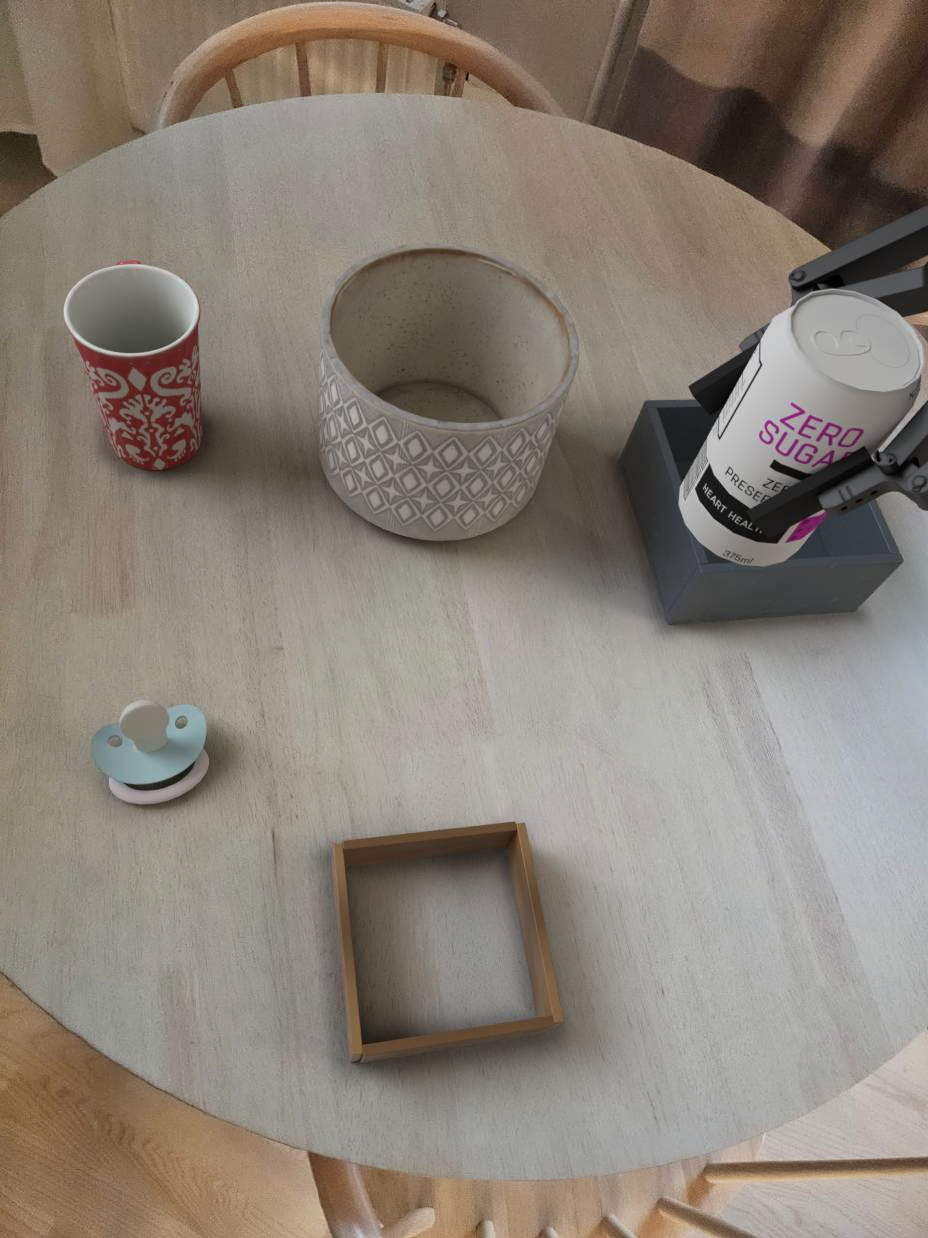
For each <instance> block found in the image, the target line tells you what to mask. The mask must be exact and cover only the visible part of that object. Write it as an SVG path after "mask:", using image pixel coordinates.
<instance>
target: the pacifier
mask: <svg viewBox="0 0 928 1238" xmlns="http://www.w3.org/2000/svg"><path fill="white" fill-rule="evenodd" d="M183 718H184V719H186V720H187V722H186V724H185V726H184V727H182V728H178V727H177V726H176V724H177V722H178V721H179V720H180V719H183ZM207 726H208V725H207V721H206V718H205V715H204V714H203V712H202V711H201V709H199V708H198V707H196V706H195V705H192V704H178V705H175V706H172V707H170V708H168V709H167V708H165V706H163V704H161V703H159V702H158V701H156V700H153V699H145V698H144V699H139V700H135V701H133V702H131V703H130V704H129V705H127V706H126V707H125V708H124V709H123V710H122V713H121V714H120V718H119V721H118V722H113V723H109V724H107V725H105V726H103V727H101V728H99V729H98V730H97V731H96V732H95V733H94V735H93V736H92V738H91V740H90V745H89V747H90V748H89V749H90V755H91V757H92V759H93V761H94V763H95V765H96V766H97V767H98V768H99V769H100V770H101V771H102V772H103V773H104V775H106V776H107V777H108V787H109V789H110V791H111V793H112V795H114V796H115V798H117V799H119V800H120V801H123V802H126V803H129V804H134V805H155V804H159V803H163V802H164V803H165V802H169V801H171V800H173V799H176V798H178V797H180V796H182V795H184V794H187V792H189V791H191V790H193V788H194V787H195V786H197V785H198V784H199V783H200V782H201V781H202V779H203V778H204V777H205V776H206V774H207V771H208V769H209V766H210V759H209V755H208V753H207V751H206V750H205V744H206V739H207V733H208V727H207ZM112 738H120V739H121V741H122V742H121V744H120V745H119V746H112V745H111V744H110V743H109V741H110V740H111V739H112ZM191 765H193V767H192V769H191V770H190V771H189V772H188V773H187V774H186V775H185V776H184V777H183V778H181V779H180V780H179V781H177V782H175V783H173V784H171V785H168V786H166V787H163V788H158V789H154V790H153V789H152V790H141V789H135V788H132V787H129V786H128V785H127V784H129V785H151V784H156V783H159V782H163V781H166V780H169V779H171V778H174V777H175V776H177V775H179V774H181V773H183V772H184V771H185V770H186V769H188V768H189V767H190V766H191Z"/></svg>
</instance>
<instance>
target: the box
mask: <svg viewBox="0 0 928 1238" xmlns="http://www.w3.org/2000/svg"><path fill="white" fill-rule="evenodd" d="M526 825H527V824H526V822H518V823H517V822H516V821H507V822H499V823H490V824H482V825H480V824H479V825H471V826H463V827H461V826H460V827H454V828H453V827H452V828H444V829H436V830H426V831H418V832H417V831H416V832H409V833H401V834H392V835H391V834H390V835H382V836H381V835H380V836H373V837H365V838H355V839H345V840H342V842H341V843H340V842H339V843H333V844H332V850H331V860H330V861H331V862H330V865H331V874H332V876H331V877H332V884H333V885H332V886H333V897H334V908H335V909H334V910H335V919H336V930H337V931H336V932H337V941H338V954H339V963H340V974H341V975H340V976H341V983H342V984H341V987H342V996H343V998H342V999H343V1007H344V1020H345V1029H346V1041H347V1051H348V1062H349V1063H354V1062H359V1064H365V1063H370V1062H371V1063H372V1062H377V1061H384V1060H390V1059H397V1058H402V1057H408V1056H409V1057H410V1056H415V1055H421V1054H428V1053H434V1052H441V1051H445V1050H453V1049H459V1048H464V1047H472V1046H478V1045H483V1044H490V1043H496V1042H503V1041H509V1040H514V1039H515V1040H516V1039H522V1038H528V1037H533V1036H539V1035H541V1034H543V1033H545V1032H548V1031H550V1030H552V1029H553V1028H555V1027H557V1026H558V1025H560V1024H562V1023H563V1022H564V1015H563V1011H562V1010H563V1009H562V1006H561V1001H560V995H559V991H558V985H557V980H556V975H555V974H556V973H555V970H554V963H553V959H552V954H551V949H550V943H549V937H548V933H547V928H546V923H545V918H544V912H543V908H542V902H541V896H540V892H539V886H538V882H537V876H536V871H535V866H534V861H533V857H532V851H531V846H530V840H529V835H528V831H527V826H526ZM500 849H501V850H503V849H506V854H507V860H508V866H509V870H510V876H511V882H512V888H513V894H514V898H515V905H516V909H517V915H518V919H519V925H520V931H521V937H522V942H523V943H522V944H523V948H524V953H525V958H526V959H525V960H526V963H527V964H526V965H527V971H528V976H529V981H530V987H531V993H532V997H533V1004H534V1009H535V1014H536V1017H533V1018H532V1017H531V1018H525V1019H519V1020H514V1021H513V1020H512V1021H507V1022H500V1023H493V1024H487V1025H481V1026H475V1027H469V1028H462V1029H456V1030H455V1029H454V1030H449V1031H443V1032H436V1033H430V1034H429V1033H428V1034H424V1035H418V1036H412V1037H404V1038H398V1039H392V1040H385V1041H379V1042H374V1043H373V1042H372V1043H366V1044H363V1038H362V1028H361V1018H360V1017H361V1016H360V1008H359V999H358V987H357V977H356V967H355V956H354V945H353V935H352V925H351V915H350V907H349V906H350V905H349V894H348V885H347V884H348V883H347V876H346V868H348V867H349V868H350V867H358V866H366V865H374V864H375V865H376V864H382V863H392V862H399V861H408V860H416V859H425V858H433V857H442V856H451V855H459V854H460V855H461V854H467V853H475V852H476V853H477V852H485V851H493V850H500Z"/></svg>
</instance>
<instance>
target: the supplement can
mask: <svg viewBox="0 0 928 1238" xmlns="http://www.w3.org/2000/svg"><path fill="white" fill-rule="evenodd" d="M789 307H790V306H789ZM770 322H771V323H770ZM770 322H769V323H770V325H769V326H768V328H767V330H766V331H765V333H764V335H763V337H762V339H761V340H760V342H759V344H758V346H757V348H756V350H755V351H754V353H753V355H752V357H751V359H750V360H749V362H748V364H747V366H746V368H745V370H744V371H743V373H742V375H741V377H740V379H739V380H738V382H737V384H736V386H735V388H734V390H733V391H732V393H731V395H730V397H729V399H728V400H727V402H726V404H725V406H724V408H723V410H722V411H721V413H720V415H719V417H718V419H717V420H716V422H715V424H714V426H713V428H712V430H711V431H710V433H709V435H708V437H707V439H706V440H705V442H704V444H703V446H702V448H701V450H700V451H699V453H698V455H697V457H696V459H695V460H694V462H693V464H692V466H691V468H690V470H689V471H688V473H687V475H686V477H685V479H684V480H683V482H682V484H681V486H680V492H679V508H680V511H681V514H682V516H683V519H684V522H685V525H686V526H687V527H688V528H689V530H690V531H691V532H692V534H693V535H694V536H695V537H696V539H697V540H698V541H699V542H700V543H701V544H702V545H704V546H705V547H706V548H708V549H709V550H710V551H712V552H713V553H715V554H716V555H717V556H720V557H722V558H725V559H727V560H730V561H733V562H735V563H738V564H741V565H751V566H763V567H764V566H768V565H772V564H776V563H780V562H784V561H785V560H786V559H788V558H789V557H790V556H792V555H793V554H794V553H795V552H797V551H798V550H799V549H800V548H801V546H802V545H803V544H804V543H805V541H806V540H807V539H808V538H809V536H810V535H811V534H812V533H813V531H814V530H815V529H816V528H817V526H818V525H819V524H820V523H821V521H822V520H823V519H824V517H825V516H826V515H827V513H826V512H825V510H824V509H823V510H821V511H819V512H817V513H816V514H814V515H812V516H810V517H808V518H806V519H804V520H802V521H800V522H799V523H797V524H795V525H793V526H791V527H789V528H787V529H785V530H784V531H782V532H780V533H778V534H776V535H774V536H772V537H770V538H768V537H767V536H766V535H765V534H764V533H763V532H762V531H761V530H760V529H759V528H757V527H756V526H755V525H754V524H753V523H752V521H751V519H750V517H749V515H748V513H747V510H749V509H751V508H753V507H755V506H756V505H758V504H760V503H762V502H764V501H765V500H767V499H769V498H771V497H773V496H774V495H776V494H778V493H780V492H782V491H784V490H785V489H787V488H789V487H791V486H793V485H794V484H796V483H798V482H800V481H802V480H803V479H805V478H807V477H809V476H811V475H812V474H814V473H816V472H818V471H820V470H822V469H823V468H825V467H827V466H829V465H831V464H832V463H834V462H836V461H838V460H840V459H841V458H843V457H846V456H849V455H850V454H852V453H853V452H855V451H857V450H858V449H860V448H861V447H863V446H864V447H865V448H866V450H867V451H868V453H869V454H870V456H871V457H872V458H873V454H874V451H875V450H876V449H878V450H880V449H881V448H882V446H883V445H884V444H885V443H886V442H887V440H888V439H889V438H890V436H891V435H892V434H893V433H894V431H895V430H897V429H896V428H897V427H898V426H899V425H900V424H901V422H902V421H903V420H904V419H905V417H906V416H907V415H908V414H909V412H910V411H911V410H912V409H913V407H914V405H915V403H916V401H917V399H918V396H919V393H920V392H921V387H922V385H921V384H922V373H923V370H924V367H925V365H926V358H925V357H926V356H925V348H924V345H923V343H922V341H921V339H920V336H918V334H917V332H916V330H915V328H914V327H913V326H912V325H911V324H910V323H909V322H908V321H907V320H906V319H905V317H902V316H901V315H900V314H899V313H898V312H896V311H895V310H893V309H891V308H890V307H888V306H887V305H885V304H883V303H882V302H880V301H878V300H877V299H874V298H871V297H869V296H866V295H863V294H860V293H857V292H855V291H847V290H839V289H826V290H820V291H813V292H811V293H809V294H807V295H806V296H804V297H802V298H801V299H799V300H797V302H796V304H795V305H794V306H792V307H790V308H787V309H785V310H783V311H781V312H780V313H779V314H776V315H775V316H773V318H772V320H771V321H770Z"/></svg>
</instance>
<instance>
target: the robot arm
mask: <svg viewBox="0 0 928 1238" xmlns="http://www.w3.org/2000/svg"><path fill="white" fill-rule="evenodd" d="M926 257H928V204H927V205H924V206H922V207H920V208H918V209H916V210H913V211H912V212H910V213H908V214H906V215H903V216H901V217H900V218H897V219H895V220H893V221H891V222H889V223H887V224H885V225H883V226H880V227H879V228H876V229H875V230H872V231H870V232H869V233H866V234H864V235H861V236H860V237H858V238H856V239H853V240H852V241H850V242H848V243H845V244H844V245H842V246H839V247H837V248H835V249H833V250H830V251H829V252H827V253H824V254H823V255H820V256H818V257H816V258H815V259H812V260H810V261H807V262H806V263H804V264H802V265H800V266H798V267H796V268H794V269H793V270H792V271H791V272H790V273H789V276H788V279H787V280H788V281H787V282H788V283H789V285H790V289H791V290H790V291H791V292H790V293H791V303H790V306H789V308H790V307H792V306H794V305H795V304H796V302H797V300H799V299H801V298H802V297H804V296H806V295H807V294H809V293H811V292H813V291H820V290H826V289H839V290H847V291H855V292H857V293H860V294H863V295H866V296H869V297H871V298H874V299H877V300H878V301H880V302H882V303H883V304H885V305H887V306H888V307H890V308H891V309H893V310H895V311H896V312H898V313H899V314H900V315H901V316H902V317H903V318H906V317H910V316H915V315H919V314H923V313H924V314H925V313H928V260H927V261H926V263H925V264H924V265H921V266H917V267H914V268H910V269H906V270H902V271H897V270H900V269H901V268H904V267H906V266H908V265H910V264H912V263H914V262H917V261H919V260H921V259H923V258H926ZM895 271H897V272H895ZM893 272H895V273H893ZM789 308H788V309H789ZM770 323H771V321H769V322H767V324H765V325H763V326H762V327H761V328H758V329H757V330H756V331H755V332H752V333H751V334H749V335H747V336H746V337H744V339H743V340H742V341H741V342H740V343H739V345H738V347H739V349H740V353H738V354H737V355H735V356H733V357H731V359H728V360H727V361H725V362H724V363H722V364H721V365H719V366H718V367H716V368H714V369H713V370H711V371H710V372H708V373H707V374H705V375H703V376H702V377H700V378H699V379H697V380H696V381H694V382H692V383H691V384H689V385H688V386H687V388H688V389H689V391H690V393H691V396H692V397H693V398H694V399H696V400H697V401H698V403H699V404H700V405H701V406H702V407H703V408H704V409H705V410H706V411H707V412H708V414H709V415H710V416H711V415H712V414H714V413H716V412H717V411H719V410H721V409H722V408H724V406H725V404H726V402H727V400H728V399H729V397H730V395H731V393H732V391H733V390H734V388H735V386H736V384H737V382H738V380H739V379H740V377H741V375H742V373H743V371H744V370H745V368H746V366H747V364H748V362H749V360H750V359H751V357H752V355H753V353H754V351H755V350H756V348H757V346H758V344H759V342H760V340H761V339H762V337H763V335H764V333H765V331H766V330H767V328H768V326H769V325H770ZM879 450H880V449H879ZM879 450H878V449H876V450H875V451H874V454H873V457H871V456H870V454H869V453H868V451H867V450H866V448H865V447H864V446H863V447H861V448H860V449H858V450H857V451H855V452H853V453H852V454H850V455H849V456H846V457H843V458H841V459H840V460H838V461H836V462H834V463H832V464H831V465H829V466H827V467H825V468H823V469H822V470H820V471H818V472H816V473H814V474H812V475H811V476H809V477H807V478H805V479H803V480H802V481H800V482H798V483H796V484H794V485H793V486H791V487H789V488H787V489H785V490H784V491H782V492H780V493H778V494H776V495H774V496H773V497H771V498H769V499H767V500H765V501H764V502H762V503H760V504H758V505H756V506H755V507H753V508H751V509H749V510H747V513H748V515H749V517H750V519H751V521H752V523H753V524H754V525H755V526H756V527H757V528H759V529H760V530H761V531H762V532H763V533H764V534H765V535H766V536H767V537H768V538H770V537H772V536H774V535H776V534H778V533H780V532H782V531H784V530H785V529H787V528H789V527H791V526H793V525H795V524H797V523H799V522H800V521H802V520H804V519H806V518H808V517H810V516H812V515H814V514H816V513H817V512H819V511H821V510H823V509H824V510H825V512H826V513H827V514H828V515H829V516H830V518H835V517H841V516H843V515H845V514H847V513H849V512H851V511H852V510H855V509H857V508H859V507H860V506H862V505H864V504H866V503H868V502H870V501H872V500H874V499H876V500H877V499H878V498H879V497H881V496H883V495H885V494H887V493H893V492H895V493H899V494H900V493H901V494H902V495H904V496H905V497H906V498H907V499H909V500H910V501H912V502H913V503H914V504H916V506H917V507H918V508H919V509H920V510H921V511H926V512H928V399H927V400H926V401H925V402H924V403H923V404H922V406H920V408H919V409H918V410H917V411H916V412H915V414H914V415H913V416H912V417H911V418H910V419H909V421H908V422H906V424H905V425H904V426H903V427H902V428H901V430H900V431H899V432H898V433H897V434H896V435H895V436H894V437H893V439H892V440H891V441H890V442H889V443H888V444H887V445H886V446H885V448H884V449H883V450H880V451H879Z"/></svg>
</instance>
